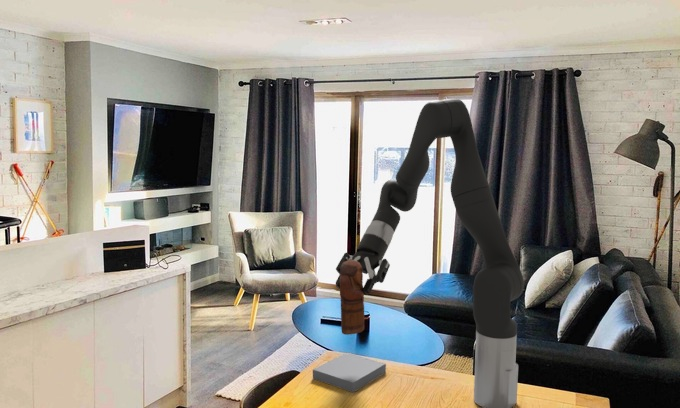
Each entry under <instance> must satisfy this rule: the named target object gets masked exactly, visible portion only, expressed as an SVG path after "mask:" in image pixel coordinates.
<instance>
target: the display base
mask: <svg viewBox="0 0 680 408" xmlns="http://www.w3.org/2000/svg"><path fill="white" fill-rule="evenodd" d="M386 366H387V363H384V362H381V361H378V360H375V359H371V358H367V357H364V356H361V355H357V354H353V353H350V352H345V353H343V354H341V355H339V356H337V357H335V358H332V359H331V360H329V361H327V362H324V363H323V364H321V365H319V366H317V367H314V368H313V369H312V379H313V380H316V381H318V382H322V383H324V384H328V385H331V386H334V387H335V388H339V389H342V390H345V391H348V392H351V393H354V392H357V391H358V390H360V389H361V388H364V387H365V386H366V385H368V384H369V383H371V382H373V381H375V380H376V379H378V378H379V377H381V376H382V375H384V374H386V372H387V371H386V369H387V367H386Z"/></svg>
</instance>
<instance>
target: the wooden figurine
mask: <svg viewBox="0 0 680 408" xmlns="http://www.w3.org/2000/svg"><path fill="white" fill-rule="evenodd" d="M363 274H364V273H362V266H361V264H360V263H359V262H358V261H355V260H348V261H345V262H344V263H343V264H342V265H341V268H340V274H339V275H340V289H339V296H340V319H341V322H340V323H341V325H340V328H341V333H342V334H343V335H346V336H348V335H356V334H359V333H362V332H363V331H365V301H364V300H365V294H364V293H363V292H362V289H363V287H364V285H363V283H364V282H363V281H364V278H363V277H364V275H363Z"/></svg>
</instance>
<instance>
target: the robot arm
mask: <svg viewBox="0 0 680 408" xmlns="http://www.w3.org/2000/svg"><path fill="white" fill-rule="evenodd" d="M470 116H471V115H470V113H469V110H468V108H467V106H466V103H465V102H463V100H462V99H460V98H447V99H440V100H439V99H436V100H432V101H428V102H427V103H425V104H424V105H423V107H422V109H421V110H420V112H419V115H418V118H417V120H416V124H415V127H414V132H413V134H412V137H411V141H410V144H409V148H408V151H407V153H406V156H405V157H404V159H403V161H402V163H401V165H400V167H399V168H398V170H397V172H396V175H395V179H388V180H387V181H385V182H384V183H383V185H382V186H381V190H380V195H379V201H378V206H377V207H378V208H377V210H376V212H375V213H374V216H373V218H372V220H371V222H370V224H369V225H368V226H367V228H366V230H365V232H364V233H363V236H362V237H361V239H360V241H359V243H358V245H357V247H356V252H355V253H354V254H353V255H350V254H349V253H348V252H345V253H344V254H343V255H342V257H341V259H340V260H339V262H338V264H337V266H336V268H335V270H336V272H337V273H338V274H339V275H338V276H337V279H336V281H335V287H336V288H337V290H340V268H341V265H342V264H343V263H344V262H345V261H348V260H355V261H358V262H359V263H360V264H361V266H362V274H365V275H368V278H367V279H366V281H365V284H364V285H363V289H362V292H363V293H364V296H369V294H370V293H372V290H373V288H374V286H375V284H377V283H380V284H382V283H384V281H385V278H386V276H387V273H388V271H389V268H390V266H391V264H390V263H389V261H388V260H387V259H386V258H384V257H385V254H386V252H387V250H388V249H389V247H390V244H391V243H392V239H393V237H394V233H395V232H396V230H397V228H398V225H399V223H400V220H401V215H400V213H399V212H398V211H397V210H399V211H401V212H405V213H406V212H409V211H411V210H412V209H413V208H414V206H415V205H416V202H417V200H418V199H417V198H418V191H419V187H420V185H421V183H422V181H423V180H424V178H425V176H426V175H427V173H428V170H429V169H430V156H429V151H428V150H429V148H430V147H431V145H432V144H433V143H434V142H435V141H436V140H437V139H444V138H450V140H451V142H452V146H453V149H454V150H453V151H454V154H455V160H454V161H455V163H454V168H453V173H452V176H451V177H452V178H451V182H450V195H451V198H452V201H453V202H452V203H453V205H454V207H455V210H456V213H457V216H458V219H459V220H460V222H461V223H462V225H463V227H464V228H465V229H466V231H467V232H468V233H469V234H470V236H471V237H472V238H473V240H474V241H475V242H476V244H477V245H478V247H479V249H480V252H481V255H482V258H483V260H484V261H483V262H484V265H485V267H484V268H482V269H480V270H479V271H478V272H477V274H476V275H475V278H474V281H473V288H472V301H473V302H472V309H473V311H472V312H473V313H472V314H473V319H474V321H475V327H476V329H475V350H474V351H475V353H474V354H475V356H474V357H475V358H474V380H473V381H474V382H473V384H474V385H473V401H474V403H475V404H477V405H478V406H480V407H481V408H513V407H514V406H515V405H516V404H518V403H517V402H518V382H519V381H518V379H519V364H518V363H517V362H516V358H517V357H516V356H517V338H518V337H517V336H518V324H517V321H515V319H513V318H511V302H513V301H515V300H517V299H518V298H519V297H521V295H522V294H523V293H524V289H525V288H524V287H525V280H524V276H523V273H522V271H521V268H520V266H519V264H518V262H517V260H516V257H515V255H514V253H513V251H512V248H511V246H510V244H509V241H508V239H507V237H506V233H505V230H504V228H503V227H504V226H503V224H502V221H501V218H500V215H499V213H498V209H497V206H496V202H495V199H494V196H493V193H492V190H491V187H490V183H489V181H488V179H487V176H486V173H485V170H484V166H483V163H482V160H481V157H480V154H479V149H478V146H477V142H476V137H475V134H474V128H473V124H472V118H471V117H470ZM396 209H397V210H396ZM378 267H379V268H378ZM377 268H378V269H377ZM376 269H377V272H376Z"/></svg>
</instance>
